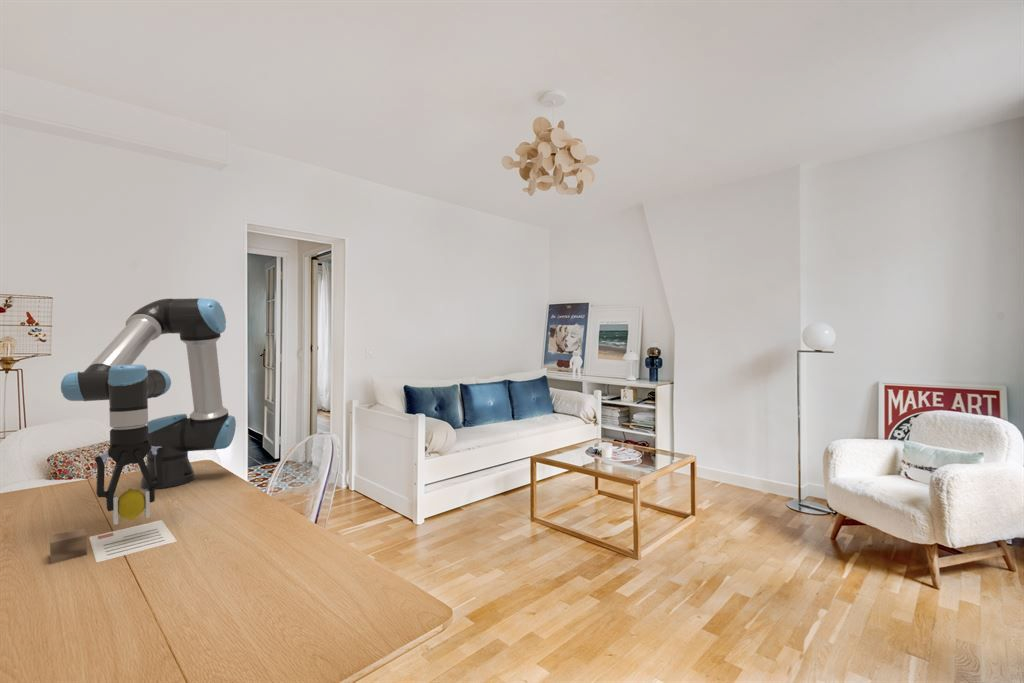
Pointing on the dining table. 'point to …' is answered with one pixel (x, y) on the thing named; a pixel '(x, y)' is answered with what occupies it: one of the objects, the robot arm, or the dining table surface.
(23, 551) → the dining table surface
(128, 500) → the lemon
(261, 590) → the dining table surface
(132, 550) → the letter
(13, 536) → the dining table surface
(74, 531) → the walnut block
